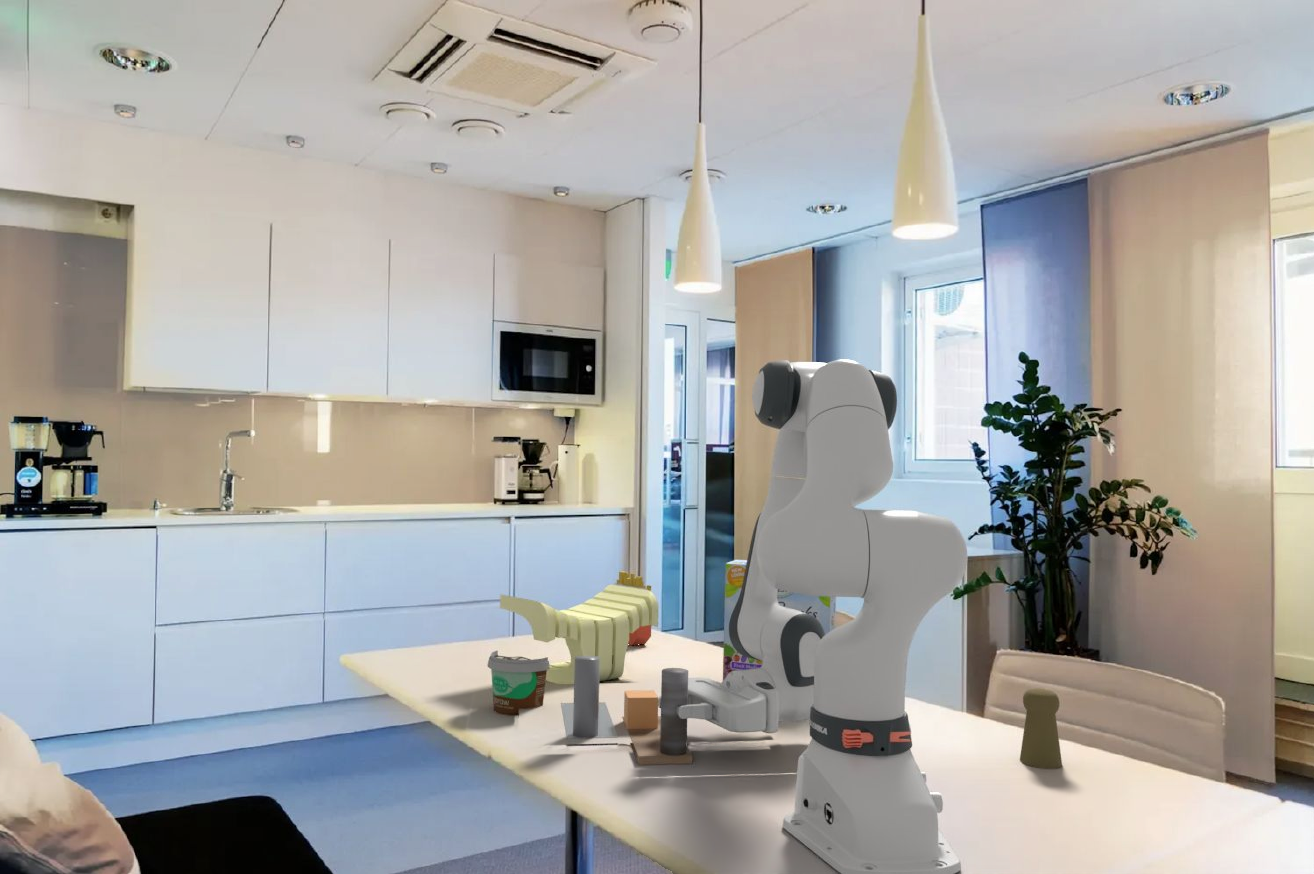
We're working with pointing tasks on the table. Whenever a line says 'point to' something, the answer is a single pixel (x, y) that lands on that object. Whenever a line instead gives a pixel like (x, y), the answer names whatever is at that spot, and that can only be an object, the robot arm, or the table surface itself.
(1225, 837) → the table surface
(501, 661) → the food container
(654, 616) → the slatted curved stool
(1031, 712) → the olive green pawn
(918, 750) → the table surface
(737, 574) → the snack box
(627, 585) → the french fries container
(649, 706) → the terracotta block
